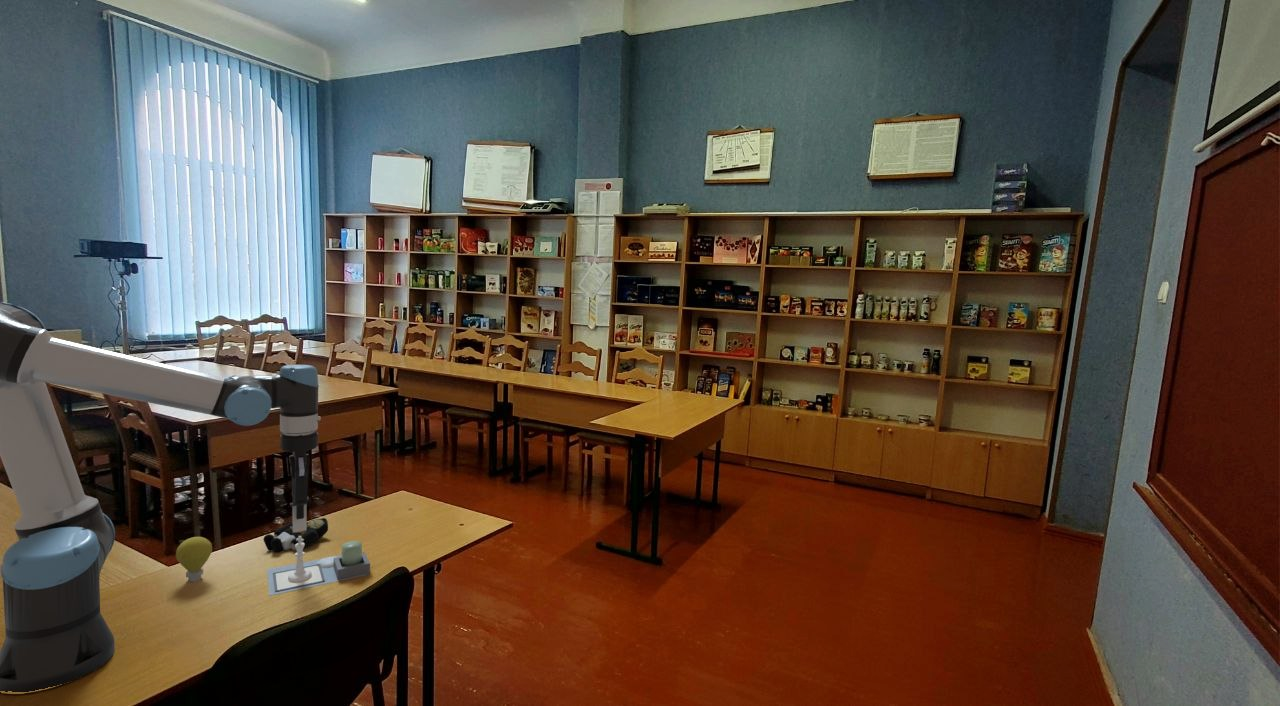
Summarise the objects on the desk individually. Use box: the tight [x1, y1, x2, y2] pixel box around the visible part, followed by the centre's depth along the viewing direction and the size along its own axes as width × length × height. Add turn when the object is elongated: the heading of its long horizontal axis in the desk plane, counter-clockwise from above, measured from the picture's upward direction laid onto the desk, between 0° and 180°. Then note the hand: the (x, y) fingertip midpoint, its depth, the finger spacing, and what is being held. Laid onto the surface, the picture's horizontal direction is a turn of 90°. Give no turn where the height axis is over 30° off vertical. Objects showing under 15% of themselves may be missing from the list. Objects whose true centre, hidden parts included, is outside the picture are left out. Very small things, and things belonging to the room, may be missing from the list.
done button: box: [341, 540, 363, 566], centre depth 138 cm, size 4×4×4 cm
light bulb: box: [175, 536, 213, 583], centre depth 131 cm, size 7×7×10 cm
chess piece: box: [288, 536, 312, 582], centre depth 133 cm, size 5×5×10 cm
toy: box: [263, 517, 329, 553], centre depth 152 cm, size 12×8×15 cm
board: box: [266, 551, 371, 597], centre depth 137 cm, size 20×14×3 cm
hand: (299, 530), depth 133 cm, fingers closed
